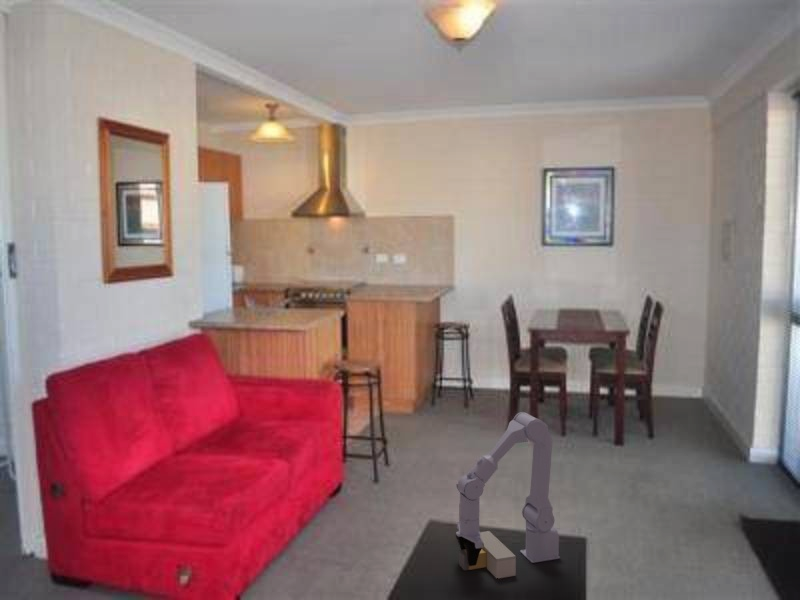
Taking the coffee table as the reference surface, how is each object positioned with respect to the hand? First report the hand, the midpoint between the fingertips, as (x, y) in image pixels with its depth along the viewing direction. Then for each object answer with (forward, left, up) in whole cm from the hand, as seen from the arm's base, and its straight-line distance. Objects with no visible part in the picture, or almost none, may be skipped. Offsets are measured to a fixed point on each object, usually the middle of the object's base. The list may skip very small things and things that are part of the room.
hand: (469, 561), depth 207 cm
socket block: (-8, 0, -2) cm, 8 cm away
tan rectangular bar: (-3, 0, -1) cm, 4 cm away
